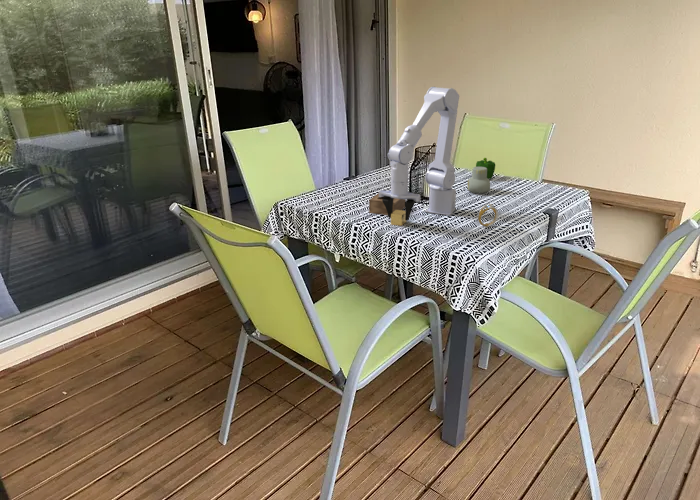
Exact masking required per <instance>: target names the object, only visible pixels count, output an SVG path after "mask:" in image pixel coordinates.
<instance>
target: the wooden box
mask: <svg viewBox="0 0 700 500" xmlns="http://www.w3.org/2000/svg"><path fill="white" fill-rule="evenodd" d="M383 198H384V197H379V192H378V193H377V194H375V195H374V196H372V197H371V198H370V199H369V200H368V204H369V205H368V211H369V212H368V213H370V214H378V215H384V216H388V213H387V210H386V207H385V205H384V203H383V202H382V200H383ZM406 201H407V200H405V199H397V198H394V200H393V212H394V211H395V210H402V211H403V209H404V208H405V202H406Z"/></svg>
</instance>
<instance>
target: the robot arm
mask: <svg viewBox="0 0 700 500" xmlns="http://www.w3.org/2000/svg"><path fill="white" fill-rule="evenodd" d="M423 101H424V102H423V105H422V106H421V108H420V110H419V112H418V114H417V116H416V117H415V119H414V121H413V123H412V124H411V125H408V126H406V127H405V129H404V130H403V133H402V134H401V136H400V138H399V139H398V141H397V142H396V143H395V144H394V145H392V146H391V147H390V148H389V150H388V153H387V158H388V160H389V166H390V167H391V169H390V170H391V171H390V176H391V177H390V190H384V189H383V190H379V191H378V193H379V197H384V198H383V200H382V202H383V203H384V205H385V207H386V210H387V213H388V215H387V216H388V219H391V213H393V200H394V198H397V199H405V200H406V201H405V210H404V211H406V214H405V220H406V221H407V222H408V221H409V220H410V217H411V213H412V210H413V208H414V205H415V204H416V202H417V203H418V202H420V201H421V194H419V193H414V192H409V190H408V189H409V163H410V162H411V160H412V159H413V157H414V151H415V147H416V145H417V144H418V143H419V141H420V140H421V138H422V130H423V128H425V126H426V124H427V123H428V121H429V120H431V118H432V117H433V115H434V113H438V114H439V115H440V118H439V119H440V122H439V128H438V135H437V140H436V148H435V155H434V160H433V161H432V162H431V163H429V164H428V168H427V171H426V173H425V176H424V177H425V182H426V184H428V187H429V193H428V195H429V196H428V197H429V198H428V203H429V204H428V207H427V209H425V213H428V214H429V213H430V214H436V215H445V216H451V215H452V214H453V212H454V211H455V210H456V199H457V190H456V189H455V188H452V187H454V184H455V182H456V175H455V173H456V172H455V171H456V169H455V167H454V166H453V164H452V163H451V161H450V160H451V156H452V149H453V142H454V135H455V130H456V125H457V124H456V123H457V118H458V107H459V101H460V94H459V93H458V91H457V90H456V88H453V87H450V88H448V87H436V86H431V87H429V88H428V90H427V91H426V94H424V96H423Z"/></svg>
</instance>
